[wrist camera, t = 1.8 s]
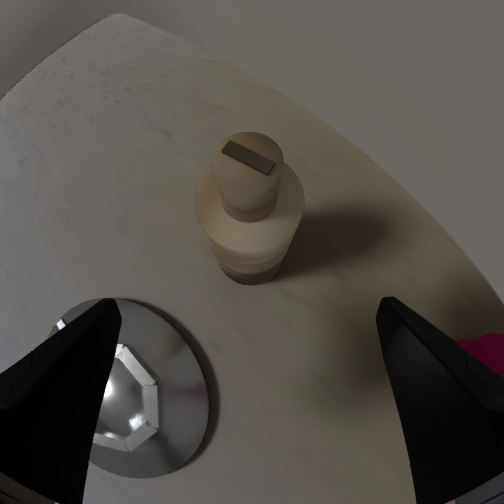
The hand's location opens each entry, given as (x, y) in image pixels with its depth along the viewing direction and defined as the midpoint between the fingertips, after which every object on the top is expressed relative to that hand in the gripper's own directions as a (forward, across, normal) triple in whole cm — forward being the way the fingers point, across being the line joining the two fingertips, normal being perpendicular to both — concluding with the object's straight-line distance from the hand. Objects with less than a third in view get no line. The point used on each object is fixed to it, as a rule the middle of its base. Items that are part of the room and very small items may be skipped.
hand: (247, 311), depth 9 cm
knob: (+12, 0, +5) cm, 13 cm away
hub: (+4, +10, +13) cm, 17 cm away
